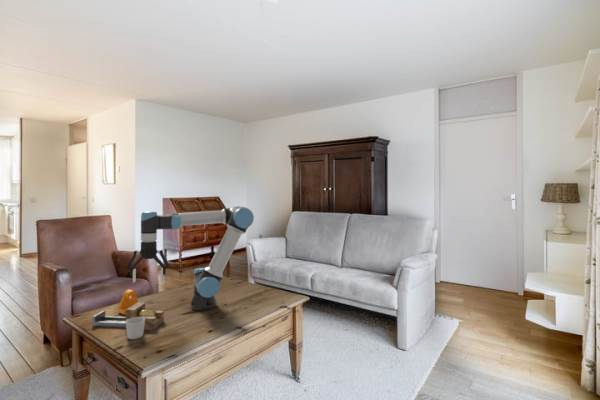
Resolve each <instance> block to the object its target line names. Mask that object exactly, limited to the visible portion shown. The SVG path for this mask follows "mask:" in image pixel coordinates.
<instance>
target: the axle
mask: <svg viewBox="0 0 600 400" xmlns="http://www.w3.org/2000/svg"><path fill="white" fill-rule="evenodd" d="M156 311H157V310H154V309H145V310H138V311H137V316H151V317H156V314H157V312H156ZM124 317H125V318H126V313H125V315H124Z"/></svg>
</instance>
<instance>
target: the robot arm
mask: <svg viewBox="0 0 600 400" xmlns="http://www.w3.org/2000/svg"><path fill="white" fill-rule="evenodd" d="M254 220H255V217H254V214H253V212H252V210H251V209H249V208H248V207H245V206H233V207H228V208H227V207H226V208H222V210H204V211H195V212H194V211H192V212H191V211H190V212H178V213H171V212H169V213H165V214H162V215H161V214H159V215H158V213H157V211H150V210H149V211H143V212H141V216H140V241H141V242H140V250H138V249H135V250H134V251H133V256H132V257H131V259H130V261H129V263H128V265H127V266H126V269H127V270H130V277H132V284H134V283H135V282H136V281H137V279H136V278H137V277H136V276H137V269H136V267H137V266H138V265H140V262H142V261H143V260H152V259H153V260H155V262H156V263H157V264H158V265H159V266H160V268H161V269H160V270H161V271H160V282H163V281H164V280H165V279H164V276H165V275H166V273H167V270H166V269H167V268H168V269H169V267H170V263H169V261H168V259H167V257H166V256H165V254H164V250H163V249H160V250H158V247H157V245H158V244H157V243H158V241H157V238H158V236H157V235H158V230H180V229H181V228H182V226H184V227H185V226H197V225H210V224H223V225H226V227H227V229H226V230H225V233H224V235H223V237H222V238H221V241H220V243H219V245H218V247H217V248H216V250H215V253H214V255H213V257H212V258H211V261H210V262H209V264H208V266H206V267H198V268H195V269H194V270H193V271H194V272H193V295H192V297H191V301H190V303H189V307H190V309H191V310H193V311H199V310H202V311H208V310H207V309H209V310H212V309H211V308H213V309H214V307H215V306H216V307H217V303H218V301H217V299H216V295H217V294H218V293H219V291H220V287H221V282H222V281H223V278H224V275H223V272H224V270H225V267H227V264H228V262H229V260H230V259H231V257H232V254H233V253H234V250H235V249H236V246H237V244H238V243H239V240H240V238H241V236H243V235H244V234H246V232H247V230H248V228H249V227H251V225H252V224H253V223H254ZM157 254H158V255H160V258H161V259H160V258H159V257H158V256H157ZM138 255H140V256H141V257H139V258H138V260H136V258H137V256H138ZM135 260H136V262H135ZM134 262H135V263H134ZM133 263H134V264H133ZM216 307H215V308H216Z"/></svg>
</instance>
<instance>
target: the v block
mask: <svg viewBox="0 0 600 400" xmlns="http://www.w3.org/2000/svg"><path fill="white" fill-rule="evenodd" d="M91 319H92V320H91V321H92V322H91V323H92V326H91V327H95V326H101V327H102V328H103V327H104V328H122V329H123V328H125V329H126V318H125V316H114V315H113V316H111V315H106V310H101V311H99V312H98V313H96V314H94V315H93V316H92V318H91ZM101 327H100V328H101Z"/></svg>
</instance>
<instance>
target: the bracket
mask: <svg viewBox="0 0 600 400" xmlns="http://www.w3.org/2000/svg"><path fill="white" fill-rule="evenodd" d="M138 302H139V299H138V293H137V292H136V291H134V290H133V289H126V290H125V291H124V292H123V294H122V297H121V300H120V302H119V305H118V307H117V312H118V313H120V314H122V316H123V315H124V316H125V313H126V309H128V308H130V307H131V306H133V305H134V304H136V303H138Z"/></svg>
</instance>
